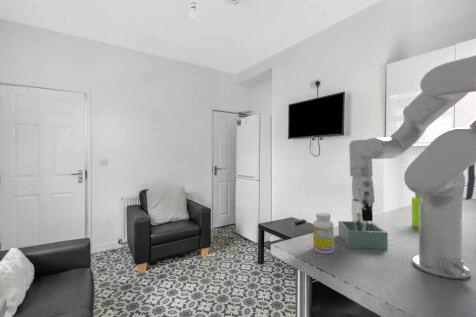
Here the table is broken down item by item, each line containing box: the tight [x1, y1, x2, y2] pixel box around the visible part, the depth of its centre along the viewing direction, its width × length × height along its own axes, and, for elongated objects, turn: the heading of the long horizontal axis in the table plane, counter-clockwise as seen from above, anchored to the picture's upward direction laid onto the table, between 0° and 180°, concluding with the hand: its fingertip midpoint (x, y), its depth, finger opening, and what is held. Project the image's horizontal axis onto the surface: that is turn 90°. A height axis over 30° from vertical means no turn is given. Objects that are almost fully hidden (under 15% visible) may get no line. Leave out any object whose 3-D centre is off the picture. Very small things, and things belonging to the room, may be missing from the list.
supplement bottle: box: [312, 212, 335, 255], centre depth 82 cm, size 7×7×13 cm
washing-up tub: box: [338, 220, 389, 251], centre depth 89 cm, size 13×13×6 cm
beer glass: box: [350, 198, 372, 231], centre depth 89 cm, size 7×7×15 cm
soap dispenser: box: [411, 193, 420, 229], centre depth 107 cm, size 6×7×20 cm
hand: (362, 217), depth 89 cm, fingers open, 9 cm apart
